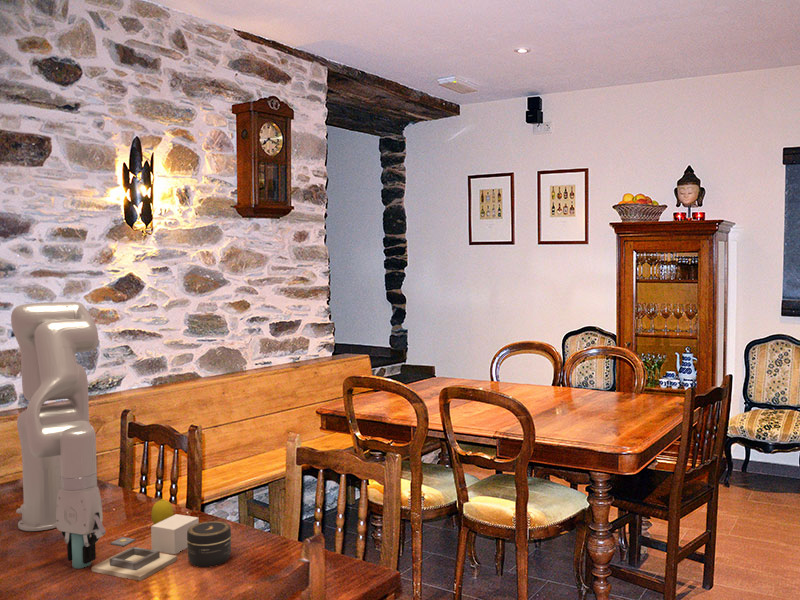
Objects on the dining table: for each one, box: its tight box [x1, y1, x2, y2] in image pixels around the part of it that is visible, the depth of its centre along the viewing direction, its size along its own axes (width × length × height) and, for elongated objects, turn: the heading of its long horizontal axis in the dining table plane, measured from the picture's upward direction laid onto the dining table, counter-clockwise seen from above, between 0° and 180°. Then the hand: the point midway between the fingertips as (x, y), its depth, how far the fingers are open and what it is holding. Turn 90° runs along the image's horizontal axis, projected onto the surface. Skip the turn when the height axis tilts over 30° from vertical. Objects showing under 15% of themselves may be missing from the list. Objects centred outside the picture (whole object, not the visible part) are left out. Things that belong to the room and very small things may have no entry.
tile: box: [110, 536, 136, 547], centre depth 179 cm, size 4×4×1 cm
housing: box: [150, 513, 200, 555], centre depth 176 cm, size 7×9×6 cm
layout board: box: [91, 546, 178, 582], centre depth 165 cm, size 14×12×2 cm
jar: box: [187, 520, 232, 568], centre depth 168 cm, size 10×10×8 cm
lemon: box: [150, 498, 175, 525], centre depth 188 cm, size 6×6×8 cm
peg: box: [71, 533, 92, 569], centre depth 166 cm, size 4×4×8 cm
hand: (81, 559), depth 166 cm, fingers closed on peg, 4 cm apart
